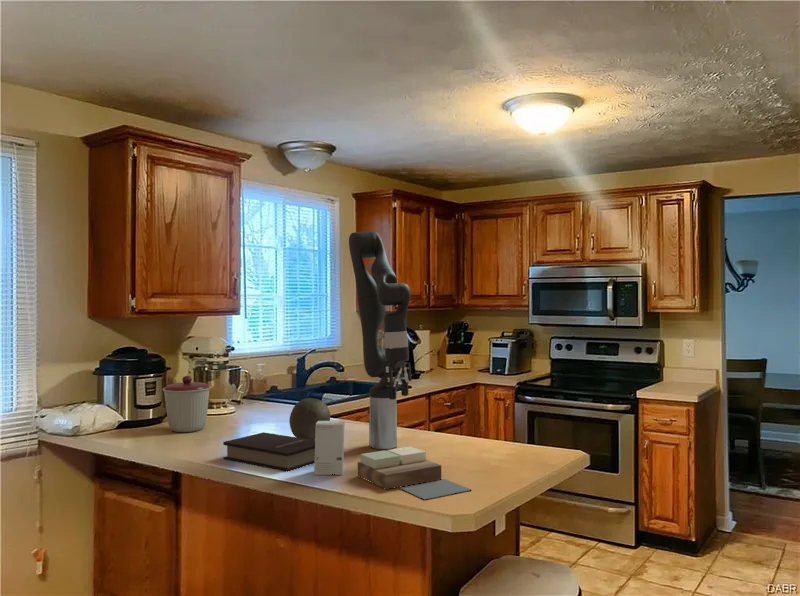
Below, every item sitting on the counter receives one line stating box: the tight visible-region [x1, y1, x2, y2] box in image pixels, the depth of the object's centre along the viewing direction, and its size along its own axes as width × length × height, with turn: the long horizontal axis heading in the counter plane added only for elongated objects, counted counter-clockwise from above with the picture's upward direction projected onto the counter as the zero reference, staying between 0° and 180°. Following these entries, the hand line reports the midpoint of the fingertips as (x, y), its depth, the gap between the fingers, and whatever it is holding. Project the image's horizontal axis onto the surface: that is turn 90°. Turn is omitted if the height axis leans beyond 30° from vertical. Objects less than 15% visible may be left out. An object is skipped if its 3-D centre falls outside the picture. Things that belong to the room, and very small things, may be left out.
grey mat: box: [399, 478, 472, 501], centre depth 177 cm, size 12×15×1 cm
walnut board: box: [357, 459, 442, 490], centre depth 188 cm, size 16×18×4 cm
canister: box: [162, 375, 212, 433], centre depth 258 cm, size 18×18×21 cm
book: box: [222, 431, 315, 473], centre depth 212 cm, size 28×20×6 cm
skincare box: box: [313, 420, 346, 476], centre depth 194 cm, size 8×6×15 cm
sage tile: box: [360, 449, 399, 469], centre depth 188 cm, size 8×8×2 cm
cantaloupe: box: [289, 397, 331, 440], centre depth 238 cm, size 14×14×15 cm
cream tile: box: [387, 446, 427, 464], centre depth 193 cm, size 8×8×2 cm
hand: (398, 397), depth 210 cm, fingers open, 8 cm apart
